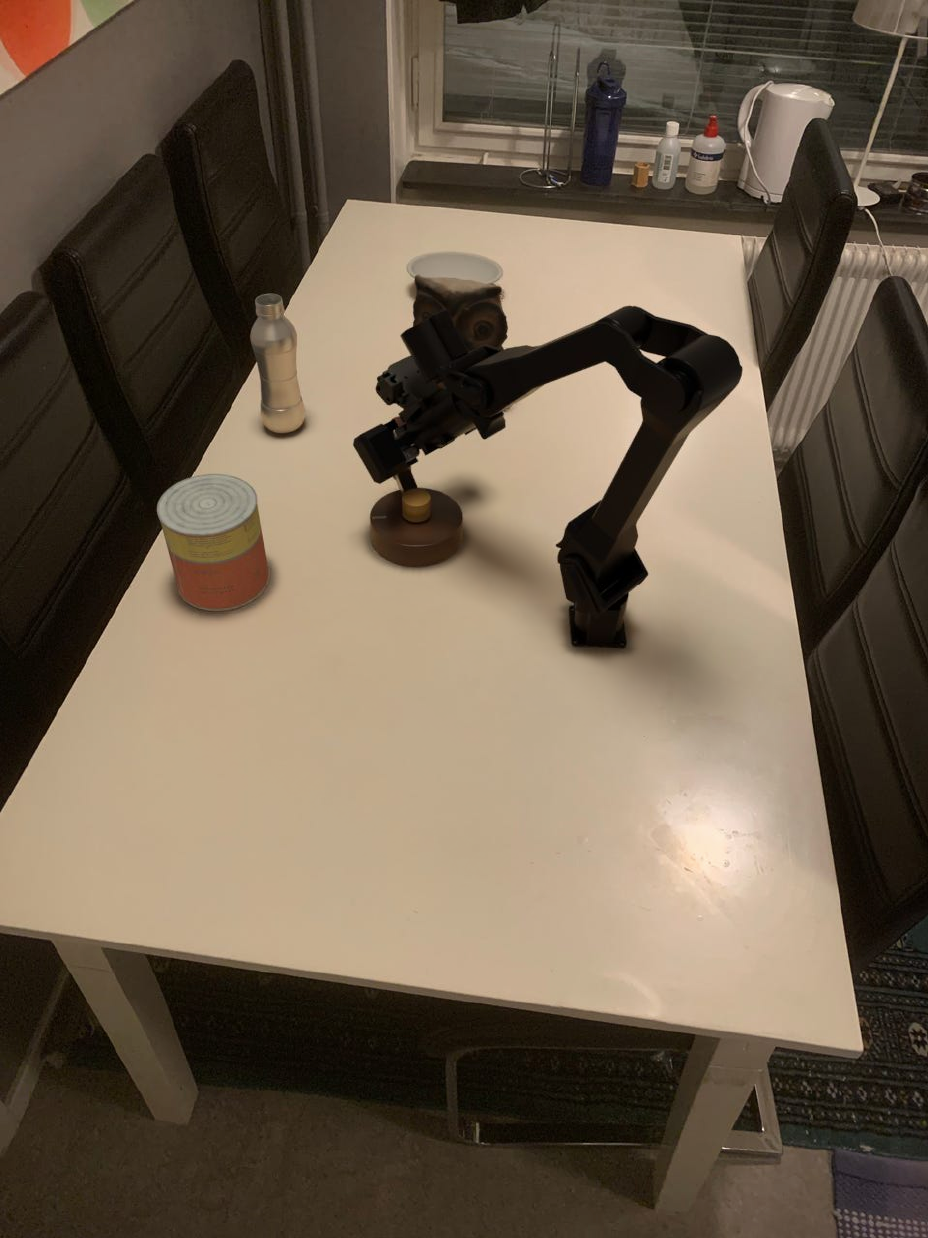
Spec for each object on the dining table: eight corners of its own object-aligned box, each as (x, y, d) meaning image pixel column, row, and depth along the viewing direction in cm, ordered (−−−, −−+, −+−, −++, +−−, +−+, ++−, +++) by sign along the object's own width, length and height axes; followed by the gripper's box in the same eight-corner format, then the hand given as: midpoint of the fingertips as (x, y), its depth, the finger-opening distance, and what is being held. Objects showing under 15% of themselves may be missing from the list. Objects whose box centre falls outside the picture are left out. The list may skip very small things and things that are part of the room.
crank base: (460, 568, 116) (461, 547, 114) (366, 565, 116) (365, 543, 114) (463, 509, 125) (464, 488, 122) (375, 506, 125) (374, 484, 122)
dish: (400, 308, 165) (399, 281, 161) (414, 273, 175) (414, 247, 171) (496, 317, 163) (498, 290, 160) (505, 281, 173) (507, 255, 170)
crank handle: (433, 520, 117) (434, 463, 111) (406, 524, 116) (405, 467, 110) (412, 469, 124) (411, 414, 118) (386, 473, 123) (384, 417, 117)
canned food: (284, 559, 116) (273, 483, 108) (246, 619, 109) (230, 543, 100) (203, 542, 118) (186, 466, 110) (160, 600, 111) (138, 523, 102)
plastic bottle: (253, 431, 136) (233, 304, 122) (280, 409, 141) (264, 284, 126) (289, 443, 134) (273, 315, 120) (315, 421, 139) (302, 295, 124)
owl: (511, 410, 142) (521, 287, 128) (438, 428, 138) (439, 303, 124) (475, 371, 150) (480, 251, 136) (404, 387, 146) (402, 265, 132)
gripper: (474, 322, 111) (414, 369, 124) (358, 379, 102) (306, 422, 115) (518, 404, 113) (454, 441, 126) (408, 467, 104) (351, 500, 117)
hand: (393, 449), depth 121 cm, fingers closed on crank handle, 3 cm apart
